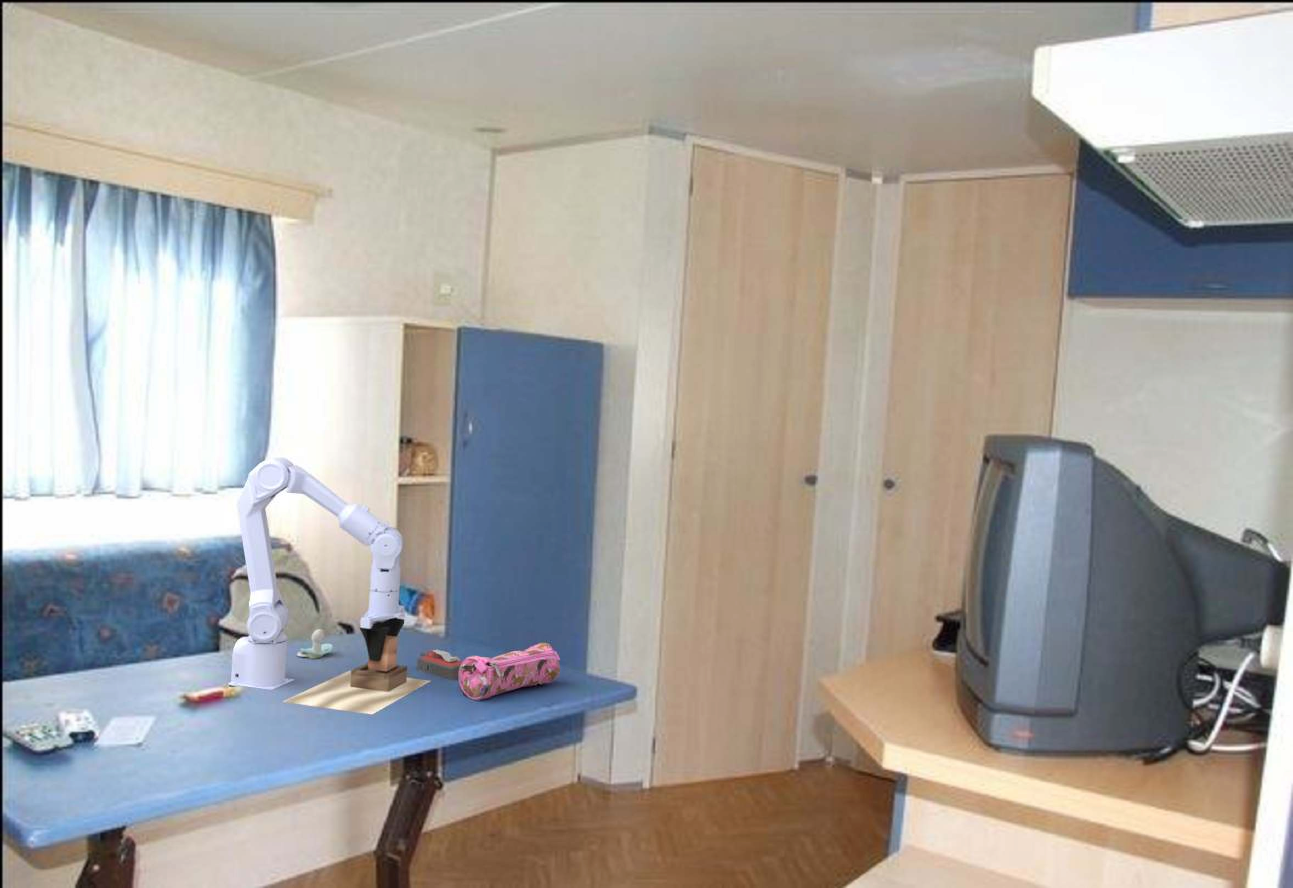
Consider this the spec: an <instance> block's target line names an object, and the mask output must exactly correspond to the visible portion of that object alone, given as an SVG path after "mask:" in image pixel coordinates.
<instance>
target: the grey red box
mask: <svg viewBox="0 0 1293 888" xmlns="http://www.w3.org/2000/svg"><path fill="white" fill-rule="evenodd" d="M419 655H420V656H419V657H418V658H417V663H416V664H417V665H416V671H419V672H422V673H425V674H429V675H431V676H432V675H433V676H436V677H438V678H441V679H445V680H447V679H448V681H456V680H459V668H460V666H461V664H462V662H463V661H464V660H461V659H460V658H459V657H458V656H452V655H451V653H450V652H448V651H444V650H441V649H434V650H429V651H428V652H426V651H423V650H421V651H420V652H419ZM455 679H456V680H455Z"/></svg>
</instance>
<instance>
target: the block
mask: <svg viewBox="0 0 1293 888" xmlns="http://www.w3.org/2000/svg"><path fill="white" fill-rule="evenodd" d="M398 642H399V636H397V637H395V636H388V635H387V636H386V638H385V642H384V646H383V653H382V657H381V660H380V661H372V660H369V659H368V662H367V663H368V669H374V670H381V671H388V670H390V669H392V668H394V667H396V665H397V661H398V660H397V657H398Z"/></svg>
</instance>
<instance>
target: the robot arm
mask: <svg viewBox="0 0 1293 888" xmlns="http://www.w3.org/2000/svg"><path fill="white" fill-rule="evenodd" d="M284 490H286V492H285V493H289V494H300V495H304V496H306V497H307V498H309V499H310V500H312V501H313V502H315V503H316V504H318V505H319V506H321V507H322V508H324V509H325V510H327V511H328V512H329V513H331V514H332V515H334V516H335V517H337V520H338V526H339V528H340V529H342V530H343V531H345V533H347V534H348V535H350V536H351V537H352V538H354V539H355V540H357V541H358V542H359V543H360V544H361V545H364V547H370V548H369V549H370V551H371V554H372V563H371V564H372V565H371V567H370V581H369V593H368V595H369V596H368V610H367V611H366V613H365V614H364V615H363V616H362V617H360V624H359V630H360V632H361V634H362V636H363V638H364V640H365V644H366V648H367V654H368V661H369V660H372V661H380V660H381V657H382V653H383V646H384V642H385V638H386V636H387V635H388V636H395V637H399V636H398V635H399V634H400V632H401V629H402V628H403V627H404V624H405V619H403V617H404V616H405V615H404V614H405V606H404V605H399V603H400V602H399V599H400V589H401V570H402V568H401V563H402V557H401V552H402V549H403V545H404V539H403V535H402V534H401V533H400V531H398V530H397V528H396V527H393V526H389V525H390V523H389V522H388V521H386V520H385V521H382V520H381V519H380V518H378V517H377V516H375V515H374V514H373V513H372V512H370V509H371V508H370V507H369V506H367V505H366V504H364V505H363V506H362V505H361V504H359V503H353V504H348V503H347V502H346V501H344V499H342V498H341V497H340V496H339V495H338V494H337V493H335V492H333V491H332V490H331V489H330V488H328V487H327V486H326V485H325V484H323V483H322V482H321V481H320V480H319V479H317V478H316V477H315V476H314V475H312V474H311V473H309V471H307V470H306V469H304V468H302V467H301V466H299V465H296V464H294V463H293V462H292V461H291V460H290V459H288V458H285V457H281V456H280V457H274V458H272V459H271V458H270V459H266V460H264V461H262V462H260V463H259V464H257V465H256V466H255V467H254V468H253V469H252V470H251V471H250V472H249V473H248V477H247V479H246V482H245V485H244V486H243V489H242V490H241V492H240V495H239V496H238V499H237V501H236V507H237V514H238V520H239V526H240V527H239V528H240V533H241V540H242V547H243V553H244V558H245V559H244V560H245V566H246V573H247V579H248V585H249V591H250V595H249V601H248V609H249V614H248V615H249V616H248V619H247V621H246V631H247V633H248V636H242V637H240V638H239V639H238V640H237V641H236V642H235V644H234V647H233V650H232V658H231V674H230V682H228V686H229V685H231V686H232V687H239V686H243V687H250V688H259V689H264V690H274V689H277V688H279V687H280V686H283V685H286V684H288V683H291V682H293V681H294V680H295V679H293V678H287V677H286V667H287V666H286V665H287V664H286V662H287V646H288V635H287V634H286V633H285V630H284V629H286V627H287V625H288V624H289V621H290V618H291V617H290V616H291V615H290V612H289V611H290V610H289V608H288V607H287V606H286V605H285V603H284V601H283V598H282V596H283V595H282V593H281V591H280V589H279V588H278V581H277V575H276V568H275V563H274V562H275V561H274V556H273V549H272V542H271V536H270V530H269V524H268V517H267V510H266V509H267V507H268V506H269V505H270V504H271V502H272V501H273V499H275V497H277V495H278V494H279V493H281V492H283V491H284ZM231 686H230V687H231Z"/></svg>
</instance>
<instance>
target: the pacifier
mask: <svg viewBox="0 0 1293 888" xmlns="http://www.w3.org/2000/svg"><path fill="white" fill-rule="evenodd" d="M324 637H325V632H324V630H323V629H322V628H318V629H315V630H314V631H313V633H312V634H311V639H310V640H311V642H312V647H308V648H300V649H299V650H300V651H299V652H297V653H296V655H297V657H301V658H308V657H309V658H308V659H317V658H318V657H319V658H322V657H324V655H326V654H328V653H330V652H331V651H332V650H333V645H332V643H323V644H322V641H323V640H324Z"/></svg>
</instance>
